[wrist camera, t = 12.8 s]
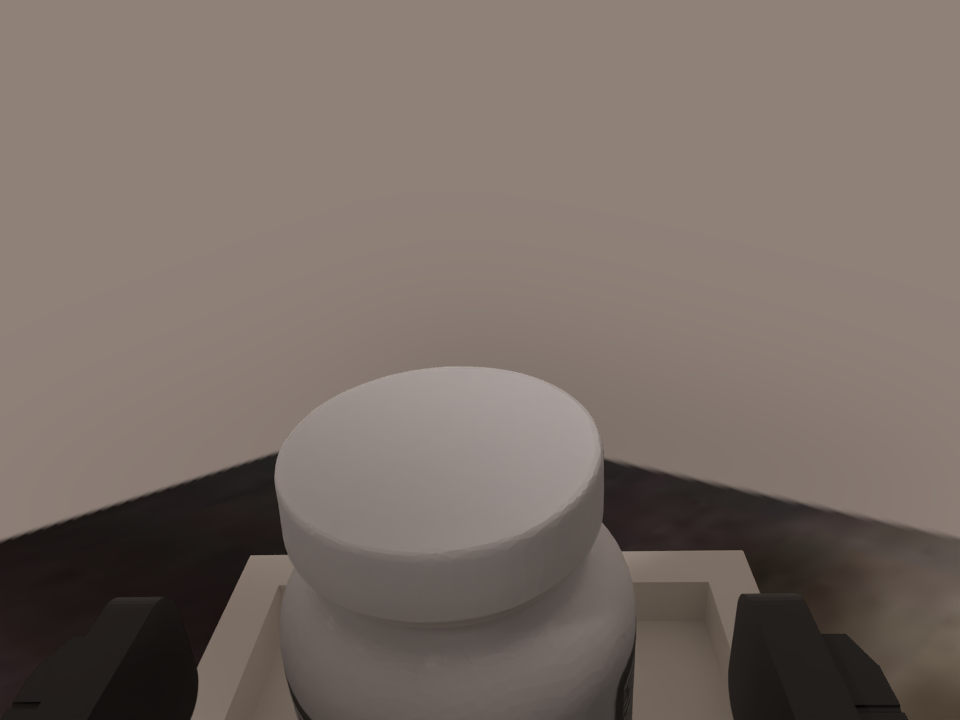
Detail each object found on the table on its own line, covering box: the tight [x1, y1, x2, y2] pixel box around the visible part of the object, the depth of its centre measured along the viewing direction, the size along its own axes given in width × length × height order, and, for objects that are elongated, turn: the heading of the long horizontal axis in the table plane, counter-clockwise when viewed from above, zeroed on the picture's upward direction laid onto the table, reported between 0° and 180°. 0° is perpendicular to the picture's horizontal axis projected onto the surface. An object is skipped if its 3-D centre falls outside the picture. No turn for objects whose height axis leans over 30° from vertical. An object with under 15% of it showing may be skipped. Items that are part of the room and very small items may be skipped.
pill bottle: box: [274, 366, 636, 720], centre depth 13 cm, size 6×6×10 cm
